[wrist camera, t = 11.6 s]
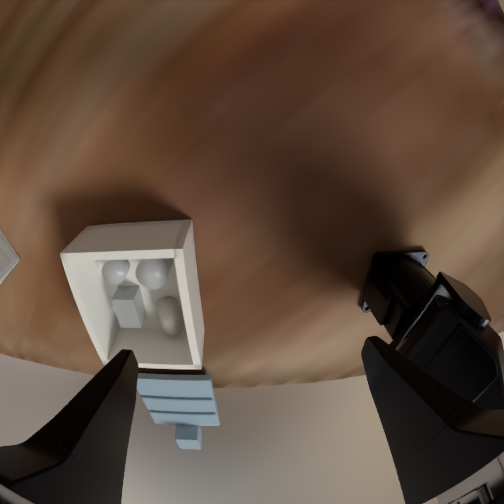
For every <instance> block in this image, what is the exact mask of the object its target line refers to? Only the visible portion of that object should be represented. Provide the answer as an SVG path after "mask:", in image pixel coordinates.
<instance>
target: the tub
mask: <svg viewBox="0 0 504 504" xmlns="http://www.w3.org/2000/svg"><path fill="white" fill-rule="evenodd" d="M60 257H61V260H62V263H63V267H64V270H65V273H66V276H67V279H68V282H69V285H70V288H71V290H72V293H73V296H74V299H75V301H76V304H77V306H78V309H79V311H80V314H81V316H82V319H83V321H84V324H85V326H86V328H87V331H88V333H89V335H90V337H91V340H92V342H93V344H94V346H95V348H96V350H97V352H98V354H99V356H100V358H101V360H102V362H103V364H105V365H106V364H107V363H108V362H109V361H110V360H111V359H112V358H113V357H114V356H115V355H116V354H117V353H118V352H119V351H120V350H122V349H131V350H132V351H133V352H134V355H135V357H136V360H137V362H138V367H140V368H157V369H202V356H203V342H204V322H203V315H202V307H201V299H200V291H199V282H198V274H197V264H196V254H195V244H194V233H193V221H192V219H186V220H166V221H148V222H132V223H117V224H104V225H91V226H87V227H86V228H85V229H84V230H83V231H82V232H81V233H80V234H79V235H78V236H77V237H76V238H75V239H74V240H73V241H72V242H71V243H70V244H69V245H68V246H67V247H66V248H65V249H64V250H63V251H62V252H61V253H60Z"/></svg>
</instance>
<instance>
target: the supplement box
mask: <svg viewBox="0 0 504 504" xmlns="http://www.w3.org/2000/svg"><path fill="white" fill-rule="evenodd" d="M19 261H20V258H19V256H18V255H17V253H16V252H15V250H14V249H13V247H12V246H11V244H10V243H9V241H8V240H7V238H6V237H5V235H4V234H3V232H2V230H1V229H0V284H1V283H2V281H3V280H4V279H5V277H6V276H7V275H8V274H9V272H10V271H11V270H12V269H13V268H14V267H15V265H16V264H17V263H18V262H19Z"/></svg>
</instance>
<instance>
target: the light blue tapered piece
mask: <svg viewBox="0 0 504 504" xmlns="http://www.w3.org/2000/svg"><path fill="white" fill-rule="evenodd" d="M137 390H138V392H139V394H140V396H141V398H142V400H143V402H144V404H145V405H146V407H147V409H148V411H149V413H150V414H151V416H152V418H153V419H154V421H155V423H156V424H169V425H176V435H175V440H176V442H177V443H178V445H179V447H180V448H181V449H201V432H202V431H201V428H200V426H220V420H219V415H218V410H217V405H216V400H215V395H214V390H213V385H212V379H211V375H168V374H146V373H138V380H137Z"/></svg>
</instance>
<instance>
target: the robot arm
mask: <svg viewBox="0 0 504 504" xmlns="http://www.w3.org/2000/svg"><path fill="white" fill-rule="evenodd" d="M428 256H429V254H428V252H426V251H425V250H417V251H393V252H377V253H375V254H374V256H373V259H372V264H371V268H370V273H369V275H368V278H367V282H366V286H365V290H364V294H363V301H362V305H361V309H362V311H363V312H372V314H373V315H374V317H375V318H376V320H377V322H378V323H379V324H380V325H384V327H385V328H386V330H387V332H388V333H389V335H390V336H391V338H392V339H393V341H392V342H391V343H390V344H387V343H386V342H385V341H383V340H382V339H380V338H379V337H377V336H371V337H367V338H366V340H365V343H364V346H363V349H362V352H361V356H362V360H363V364H364V368H365V372H366V376H367V381H368V384H369V388H370V391H371V394H372V397H373V400H374V403H375V405H376V408H377V411H378V414H379V417H380V420H381V423H382V426H383V429H384V432H385V435H386V438H387V441H388V444H389V447H390V450H391V454H392V457H393V461H394V464H395V467H396V470H397V474H398V478H399V482H400V485H401V489H402V492H403V496H404V500H405V504H423V503H425V502H427V501H429V500H430V499H432V498H434V497H437V499H438V502H439V504H504V350H503V345H502V340H501V338H500V336H499V335H498V334H497V333H496V332H495V331H494V330H493V329H492V328H491V327H490V326H489V323H490V322H491V318H490V315H489V313H488V311H487V309H486V307H485V305H484V303H483V301H482V299H481V298H480V297H479V296H478V295H477V294H476V293H475V292H473V291H472V290H471V289H470V288H469V287H468V286H467V285H465V284H464V283H462V282H460V281H458V280H456V279H454V278H452V277H450V276H448V275H446V274H444V273H442V272H439V273H438V275H437V279H436V278H435V277H434V276H433V275H432V274H431V273H430V272H429V271H428V270H427V269H426V268H425V267H426V263H427V260H428ZM378 257H380V258H379V259H378ZM365 307H366V308H365ZM138 369H139V367H138V362H137V360H136V357H135V355H134V352H133V351H132V350H131V349H122V350H120V351H119V352H118V353H117V354H116V355H115V356H114V357H113V358H112V359H111V360H110V361H109V362H108V363H107V364H106V365H105V366H104V367H103V368H102V369H101V370H100V371H99V372H98V373H97V374H96V375H95V376H94V377H93V378H92V379H91V380H90V381H89V382H88V383H87V384H86V385H85V386H84V387H83V388H82V389H81V390H80V392H78V393H77V395H76V396H75V397H74V398H73V399H72V400H71V401H70V402H69V403H68V405H66V406H65V407H64V408H63V409H62V410H61V411H60V412H59V413H58V414H57V415H56V416H55V417H54V418H53V419H52V420H50V421H49V422H48V423H47V424H46V425H45V426H43V427H42V428H41V429H40V430H39V431H37V432H36V433H35V434H34V435H32V436H31V437H30V438H29V439H28V440H26V441H25V442H23V443H20V444H17V445H11V446H3V447H0V504H121V498H122V487H123V479H124V471H125V463H126V456H127V449H128V442H129V437H130V430H131V425H132V419H133V413H134V408H135V402H136V391H137V380H138Z"/></svg>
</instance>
